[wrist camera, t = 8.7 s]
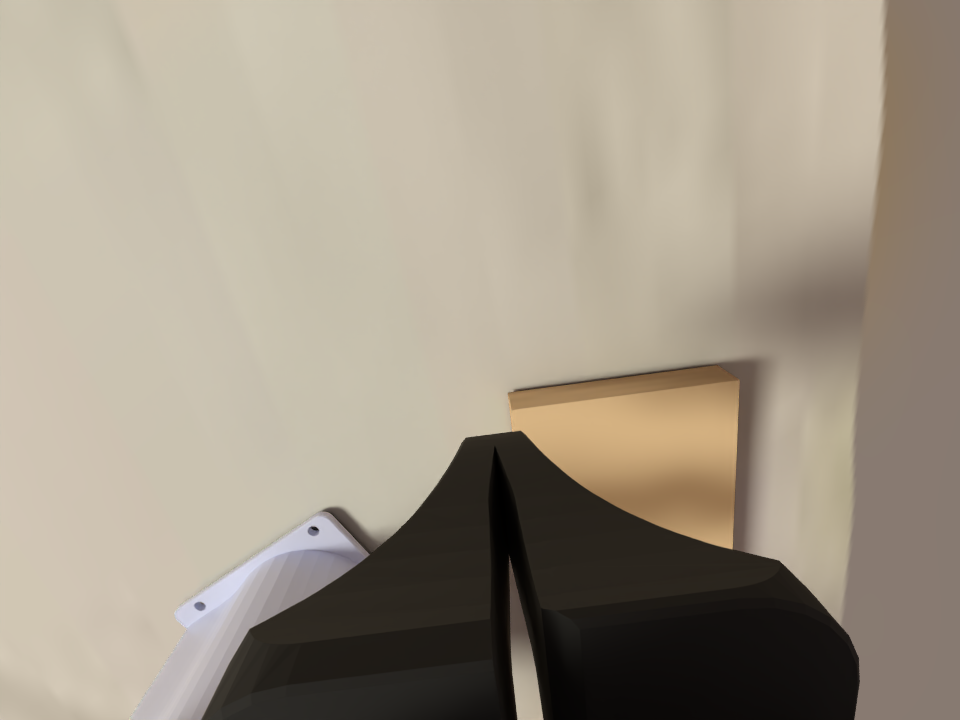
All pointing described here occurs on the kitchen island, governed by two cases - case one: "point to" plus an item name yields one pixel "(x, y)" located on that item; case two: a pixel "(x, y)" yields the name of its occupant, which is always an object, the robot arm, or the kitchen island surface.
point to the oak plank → (645, 444)
